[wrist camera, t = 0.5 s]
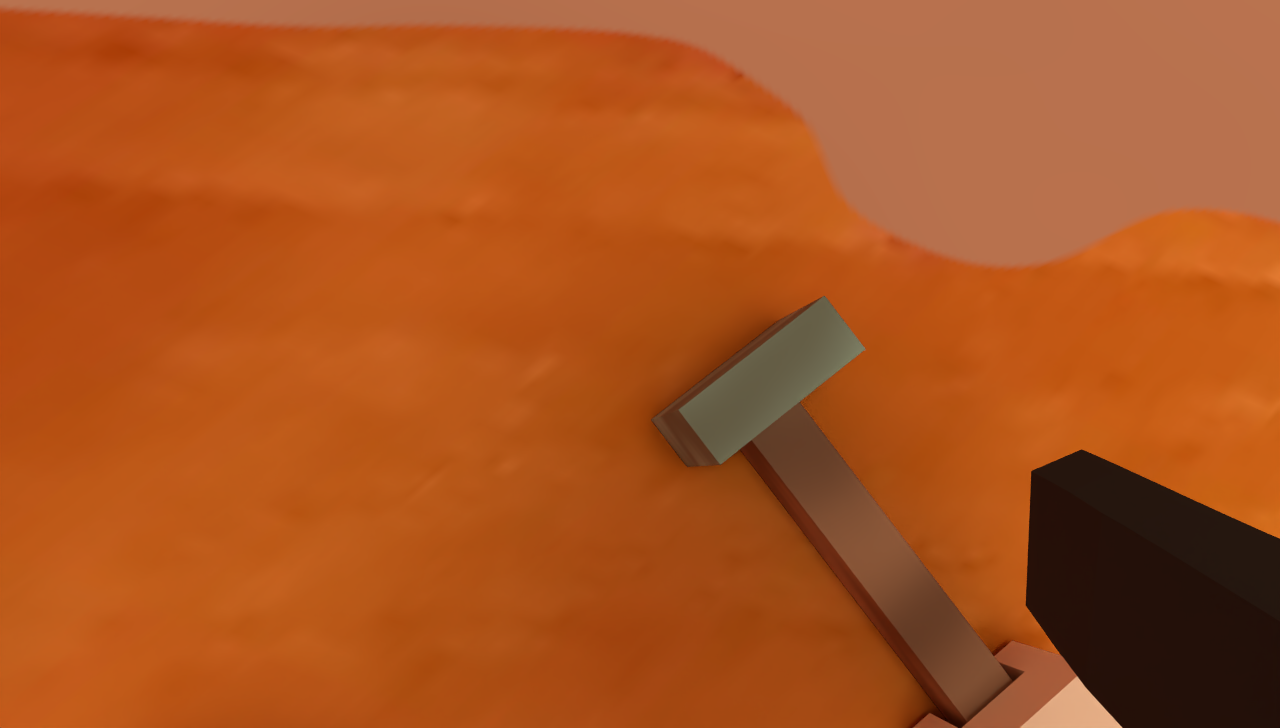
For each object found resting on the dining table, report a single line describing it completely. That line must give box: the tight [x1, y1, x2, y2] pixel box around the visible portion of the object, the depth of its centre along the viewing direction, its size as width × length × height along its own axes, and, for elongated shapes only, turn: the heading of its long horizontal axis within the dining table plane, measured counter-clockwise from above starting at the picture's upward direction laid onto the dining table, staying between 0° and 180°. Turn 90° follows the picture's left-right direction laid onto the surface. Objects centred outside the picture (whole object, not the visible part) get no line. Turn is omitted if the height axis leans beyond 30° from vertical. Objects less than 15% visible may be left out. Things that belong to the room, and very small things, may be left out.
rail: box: [651, 296, 1013, 728], centre depth 36 cm, size 20×6×6 cm, turn 38°
